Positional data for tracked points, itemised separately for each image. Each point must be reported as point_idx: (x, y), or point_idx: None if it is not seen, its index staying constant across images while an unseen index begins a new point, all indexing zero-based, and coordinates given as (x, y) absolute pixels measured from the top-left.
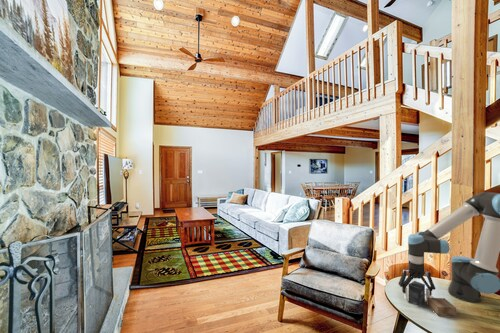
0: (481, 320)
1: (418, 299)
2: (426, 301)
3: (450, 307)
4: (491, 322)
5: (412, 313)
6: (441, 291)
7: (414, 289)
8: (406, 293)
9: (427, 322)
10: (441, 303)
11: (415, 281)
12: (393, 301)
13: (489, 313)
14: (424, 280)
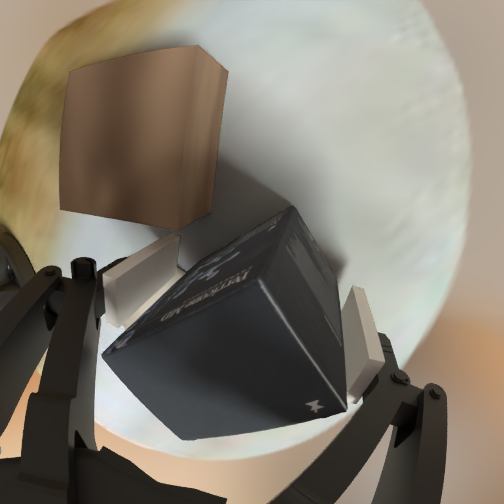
0: (44, 82)
1: (290, 224)
2: (179, 269)
3: (99, 63)
4: (29, 79)
5: (422, 118)
6: None
7: (310, 314)
8: (369, 322)
9: (373, 10)
10: (118, 116)
11: (180, 431)
12: (442, 297)
13: (3, 152)
14: (57, 385)
